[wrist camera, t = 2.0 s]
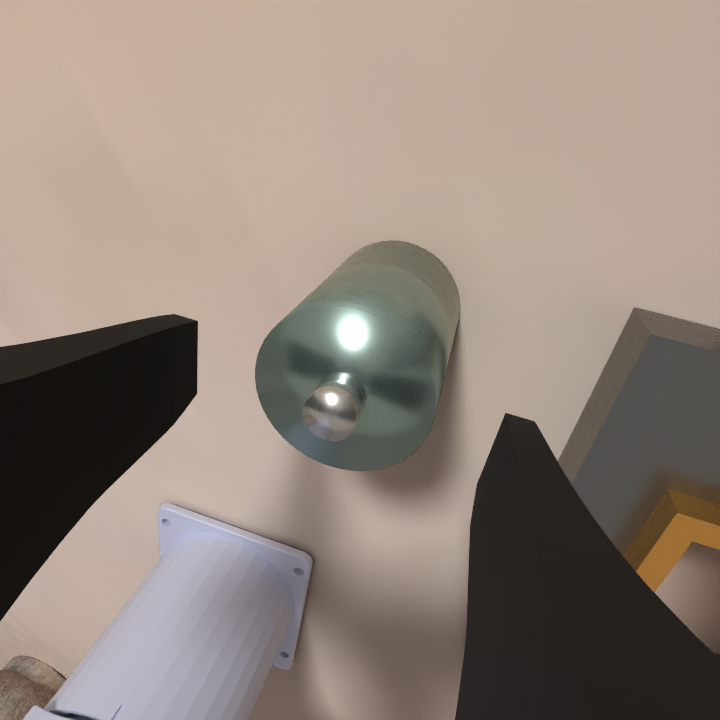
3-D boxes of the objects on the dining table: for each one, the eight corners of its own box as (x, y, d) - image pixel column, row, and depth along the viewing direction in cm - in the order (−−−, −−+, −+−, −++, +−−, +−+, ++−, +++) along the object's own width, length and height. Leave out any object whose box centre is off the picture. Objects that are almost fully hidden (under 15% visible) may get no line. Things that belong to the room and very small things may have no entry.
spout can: (440, 378, 17) (403, 522, 11) (323, 344, 18) (230, 462, 12) (477, 259, 15) (454, 359, 9) (342, 226, 16) (240, 298, 10)
